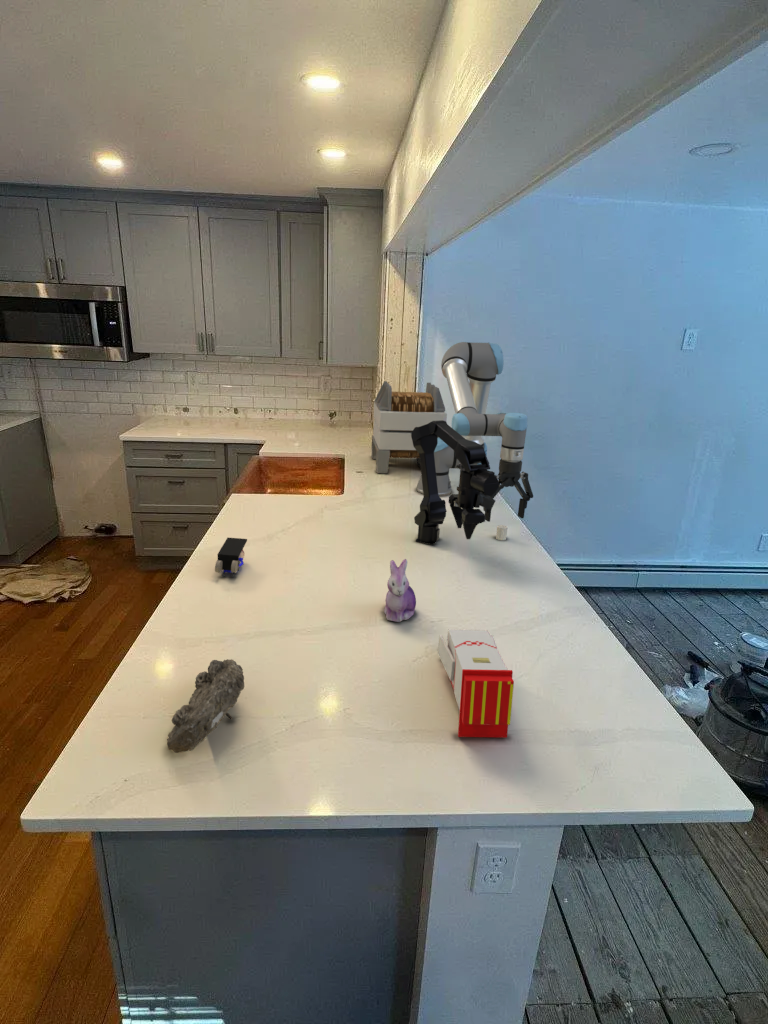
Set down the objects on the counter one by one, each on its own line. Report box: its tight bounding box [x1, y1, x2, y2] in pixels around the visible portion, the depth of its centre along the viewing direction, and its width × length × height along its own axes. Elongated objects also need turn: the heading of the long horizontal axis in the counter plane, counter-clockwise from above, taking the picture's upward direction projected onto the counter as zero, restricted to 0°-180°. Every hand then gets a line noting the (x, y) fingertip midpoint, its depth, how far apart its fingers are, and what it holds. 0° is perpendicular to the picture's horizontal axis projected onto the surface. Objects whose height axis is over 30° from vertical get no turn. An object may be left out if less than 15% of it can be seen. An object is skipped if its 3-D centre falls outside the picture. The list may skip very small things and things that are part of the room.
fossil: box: [166, 658, 245, 754], centre depth 106 cm, size 22×10×15 cm
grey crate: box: [370, 380, 448, 474], centre depth 281 cm, size 34×33×41 cm
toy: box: [437, 628, 515, 738], centre depth 117 cm, size 12×13×30 cm
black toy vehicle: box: [214, 537, 248, 578], centre depth 166 cm, size 7×8×15 cm
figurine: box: [384, 558, 417, 623], centre depth 145 cm, size 9×10×15 cm
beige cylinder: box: [495, 524, 508, 541], centre depth 199 cm, size 4×4×4 cm
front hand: (463, 533), depth 177 cm, fingers open, 9 cm apart
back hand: (504, 518), depth 198 cm, fingers open, 13 cm apart
